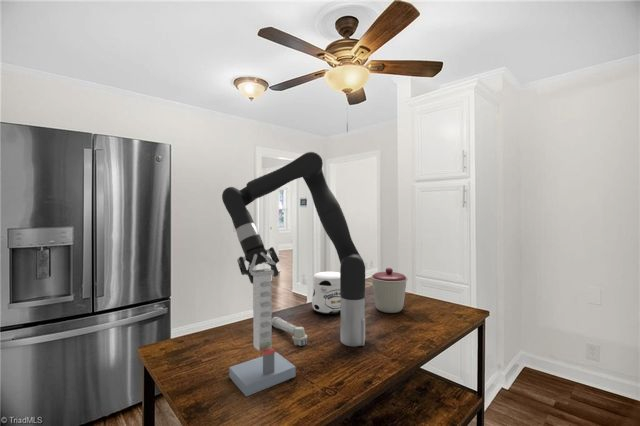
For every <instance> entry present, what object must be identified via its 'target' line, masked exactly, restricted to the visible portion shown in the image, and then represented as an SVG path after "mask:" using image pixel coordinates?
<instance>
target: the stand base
mask: <svg viewBox="0 0 640 426" xmlns="http://www.w3.org/2000/svg"><path fill="white" fill-rule="evenodd" d="M261 353H262V356H259V357H256V358H253V359H250V360H247V361H244V362H241V363H238V364H235V365H232V366H229V372H228V373H229V379H231V380H232V382H233V384H235V385H236V387H237V388H238V389H239V390H240V391H241V392H242V393H243V395H244V396H245V397H249V396H251V395H254V394H255V393H259V392H261V391H263V390H266V389H268V388H271V387H273V386H275V385H278V384H281V383H284V382H286V381H288V380H290V379H293V378H295V377H296V374H297V373H296V371H297V368H296V366H295V365H294V364H293V363H291V361H289V360H288V359H286V358H285V357H284V356H283V355H281V354H280V353H278V352H277V351H276V350H275V349H274V348H273V347H272V348H269V349H266V350H263V351H261Z"/></svg>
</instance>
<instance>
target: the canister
mask: <svg viewBox="0 0 640 426" xmlns="http://www.w3.org/2000/svg"><path fill="white" fill-rule="evenodd" d="M393 271H394V270H393V268H391V267H387V268H385V271H380V272H379V271H378V272H375V273H374V274H371V276H370V279H372V280H371V281H372V290H373V291H372V292H373V299H374V305H375V307H376V309H377V311H379V312H383V313H387V314H394V313H396V314H397V313H400V312H401V311H402V309H403V308H404V304H405V296H406V288H407V282H408V280H409V278H408V276H406V275H404V274H403V273H400V272H396V271H394V272H393Z"/></svg>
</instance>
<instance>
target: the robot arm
mask: <svg viewBox="0 0 640 426" xmlns="http://www.w3.org/2000/svg"><path fill="white" fill-rule="evenodd" d="M323 164H324V162H323V159H322V156H320V155H319V154H318V152H314V151H307V152H304V154H302V155H300V156H299V157H297V158H295V159H294V160H292V161H290V162H289V163H287V164H285V165H284V166H282V167H280V168H278V169H275V170H274V171H271V172H269V173H265V174H264V175H261V176H259V177H256V178H254V179H252V180H249V181H248V182H247V183H246V186H245V187H243V188H241V189H238V188H237V187H234V186H228V187H226V188H225V189H224V190H222V191H223V192H222V194H221V199H222V202H223V204H224V207H225V209H226V211H227V212H228V214H229V216H230V219H231V221H232V224H233V227H234V229H235V232H236V236H237V239H238V242H239V244H240V247H241V249H242V253H243V254H244V256H239V257H238V258H237V260H236V261H237V264H238V268H239V271H240V274H241V275H242V276H247V277H248V279H249V281H250V284H253V276H252V275H251V271H253V270H254V268H255V267H256V266H259V265H262V264H266V265H268V266H269V267H270V270H273V271H274V275H273V277H274V278H275V277H278V275H279V270H278V267H277V264H278V263H279V262H280V259H279V256H278V255H277V253H276V251H275V248H274V247H272V246H271V247H270V248H268V249H266V247H265V245H264V242H263V239H262V238H261V234H260V232H259V230H258V228H257V226H256V224H255V222H254V219H253V217H252V215H251V212H250V211H249V209H247V206H248V205H250V204H252V203H253V202H254V201H256V200H257V199H260V198H262V197H264V196H267V195H269V194H271V193H272V192H275V191H277V190H279V189H280V188H281V187H283V186H284V185H287V184H288V183H290V182H293V181H295V180H298V179H300V178H302V179H303V181H304V182H305V184H306V186H307V188H308V190H309V191H310V195H311V198H312V201H313V205H314V207H315V210H316V214H317V215H318V217H319V221H320V223H321V225H322V227H323V230H324V232H325V234H326V235H327V236H328V238H329V240H330V241H331V242H332V244H333V246H334V248H335V252H336V253H337V257H338V259H339V262H340V271H339V273H340V294H341V296H340V313H339V314H340V319H339V320H340V323H339V324H340V326H339V327H340V333H339V334H340V336H339V337H340V343H341V344H342V345H344V346H347V347H359V346H365V341H366V314H365V313H366V306H365V304H366V303H365V302H366V299H365V298H366V266H365V262H364V259H363V258H362V256H361V254H360V253H359V251H358V249H357V248H356V246H355V243H354V242H353V238H352V236H351V233H350V229H349V224H348V223H347V222H348V221H347V220H346V218H345V214H344V212H343V209H342V207H341V205H340V203H339V201H338V200H337V198H336V196H335V195H334V193H333V192H332V190H331V189H330V187H329V186H328V184H327V181H326V178H325V175H324V172H323ZM268 255H269V256H268ZM246 262H248V266H247V267H246V264H245V263H246Z"/></svg>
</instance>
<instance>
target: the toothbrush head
mask: <svg viewBox="0 0 640 426" xmlns="http://www.w3.org/2000/svg"><path fill="white" fill-rule="evenodd" d="M272 326H273V327H274V328H275V329H279V330H282V331H284V332H287V333H289V334H291V335H292V336H291V337H292V340H293V344H294V346H297V345H298V346H306V345H307V344H308V342H307V341H308V340H307V339H308V335H307V334H306V331H305V328H304V327H303V326H296V325H294V324H292V323H290V322H289V321H286V320H284V319H282V318H281V317H280V316H272Z"/></svg>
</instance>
